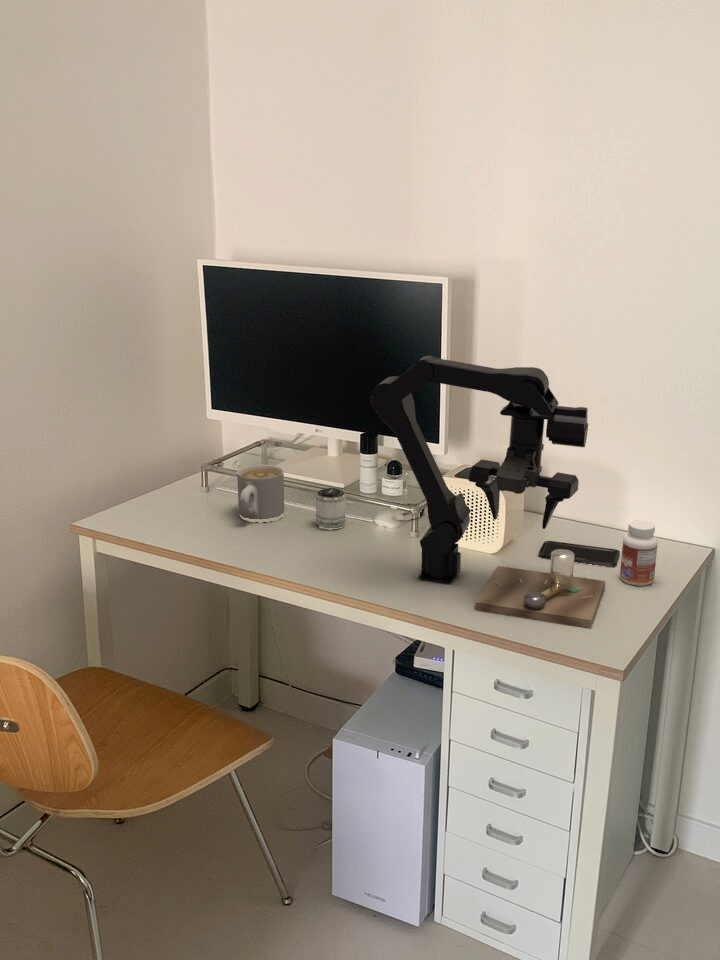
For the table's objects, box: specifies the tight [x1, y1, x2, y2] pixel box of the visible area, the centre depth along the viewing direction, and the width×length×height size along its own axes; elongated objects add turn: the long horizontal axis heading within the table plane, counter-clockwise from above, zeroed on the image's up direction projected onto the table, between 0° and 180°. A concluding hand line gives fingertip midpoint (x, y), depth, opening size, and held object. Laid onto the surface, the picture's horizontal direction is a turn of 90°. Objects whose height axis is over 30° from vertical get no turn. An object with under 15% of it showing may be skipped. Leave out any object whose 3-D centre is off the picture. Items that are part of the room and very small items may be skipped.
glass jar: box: [315, 487, 347, 528], centre depth 216 cm, size 6×6×8 cm
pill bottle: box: [619, 519, 659, 587], centre depth 188 cm, size 6×6×11 cm
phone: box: [538, 540, 621, 568], centre depth 201 cm, size 8×1×15 cm
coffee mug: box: [236, 464, 285, 520], centre depth 220 cm, size 13×10×10 cm
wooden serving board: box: [474, 565, 606, 629], centre depth 182 cm, size 20×17×2 cm
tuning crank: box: [524, 549, 575, 609], centre depth 178 cm, size 13×4×7 cm, turn 136°
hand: (519, 523), depth 184 cm, fingers open, 9 cm apart
